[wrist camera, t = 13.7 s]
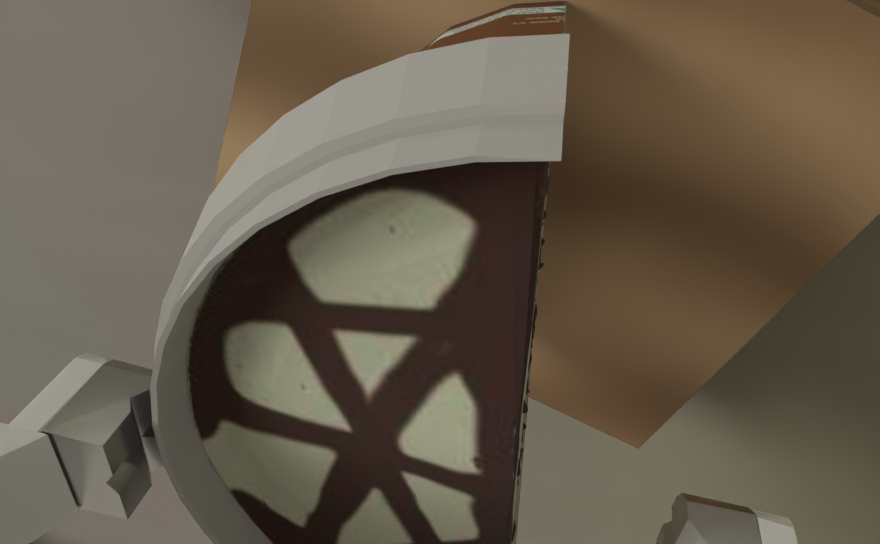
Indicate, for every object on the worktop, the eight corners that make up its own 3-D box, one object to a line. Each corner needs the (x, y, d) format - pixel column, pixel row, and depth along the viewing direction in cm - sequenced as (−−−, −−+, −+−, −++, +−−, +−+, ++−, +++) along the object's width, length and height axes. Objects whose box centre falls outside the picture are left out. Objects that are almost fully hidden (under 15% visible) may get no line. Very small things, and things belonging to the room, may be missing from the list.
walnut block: (636, 350, 26) (638, 448, 22) (268, 173, 25) (201, 242, 21) (925, 21, 18) (1010, 86, 14) (385, -261, 17) (310, -279, 13)
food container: (294, -79, 15) (-42, 65, 7) (573, -75, 14) (569, 98, 6) (344, 338, 22) (209, 649, 14) (531, 358, 21) (502, 702, 13)
